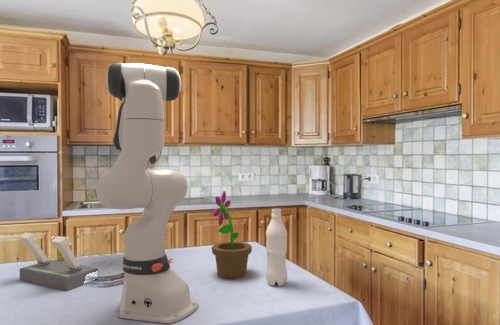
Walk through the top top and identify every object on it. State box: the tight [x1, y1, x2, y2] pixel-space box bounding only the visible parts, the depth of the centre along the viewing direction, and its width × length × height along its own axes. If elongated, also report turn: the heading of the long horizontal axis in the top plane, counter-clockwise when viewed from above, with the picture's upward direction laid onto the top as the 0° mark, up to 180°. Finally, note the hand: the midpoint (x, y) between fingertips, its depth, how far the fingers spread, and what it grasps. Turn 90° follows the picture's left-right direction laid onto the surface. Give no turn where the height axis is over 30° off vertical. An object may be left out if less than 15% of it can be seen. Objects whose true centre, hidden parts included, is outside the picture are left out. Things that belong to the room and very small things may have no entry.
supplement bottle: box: [56, 236, 73, 262], centre depth 146 cm, size 5×5×10 cm
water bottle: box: [265, 208, 288, 287], centre depth 119 cm, size 7×7×25 cm
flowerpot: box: [211, 190, 253, 280], centre depth 129 cm, size 14×14×30 cm
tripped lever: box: [50, 235, 82, 271], centre depth 118 cm, size 4×3×13 cm, turn 65°
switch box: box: [19, 259, 99, 292], centre depth 124 cm, size 24×12×4 cm, turn 65°
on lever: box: [18, 231, 51, 265], centre depth 124 cm, size 4×3×13 cm, turn 65°
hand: (118, 200), depth 135 cm, fingers closed
